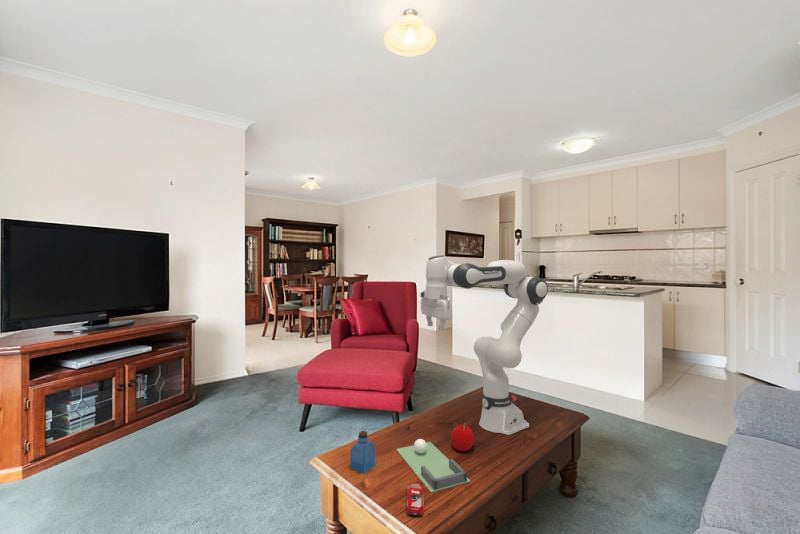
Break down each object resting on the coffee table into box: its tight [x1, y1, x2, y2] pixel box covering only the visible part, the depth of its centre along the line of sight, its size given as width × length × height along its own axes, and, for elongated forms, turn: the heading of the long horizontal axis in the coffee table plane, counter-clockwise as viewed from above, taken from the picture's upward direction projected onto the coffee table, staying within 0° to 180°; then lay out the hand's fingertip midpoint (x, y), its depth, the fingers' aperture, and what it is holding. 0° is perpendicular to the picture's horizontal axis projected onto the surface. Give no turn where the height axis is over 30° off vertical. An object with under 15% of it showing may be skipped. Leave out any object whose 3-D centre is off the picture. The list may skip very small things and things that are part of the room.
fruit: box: [450, 423, 475, 452], centre depth 138 cm, size 9×9×10 cm
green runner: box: [395, 441, 471, 494], centre depth 126 cm, size 15×28×1 cm, turn 24°
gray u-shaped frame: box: [421, 458, 468, 490], centre depth 118 cm, size 12×9×3 cm
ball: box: [413, 438, 427, 454], centre depth 134 cm, size 5×5×5 cm
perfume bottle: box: [349, 430, 376, 475], centre depth 124 cm, size 6×6×12 cm
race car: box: [406, 482, 425, 517], centre depth 106 cm, size 13×5×4 cm, turn 176°
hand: (435, 327), depth 145 cm, fingers open, 8 cm apart
